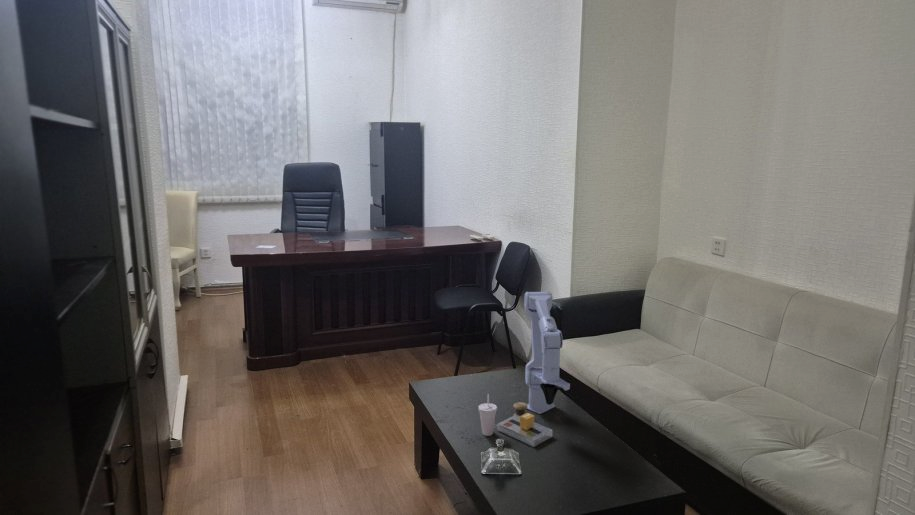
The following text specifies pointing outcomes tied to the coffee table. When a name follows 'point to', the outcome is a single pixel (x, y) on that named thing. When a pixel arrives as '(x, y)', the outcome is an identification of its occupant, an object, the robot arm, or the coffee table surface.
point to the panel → (525, 431)
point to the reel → (520, 408)
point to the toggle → (527, 421)
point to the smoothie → (487, 417)
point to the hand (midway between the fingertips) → (549, 403)
